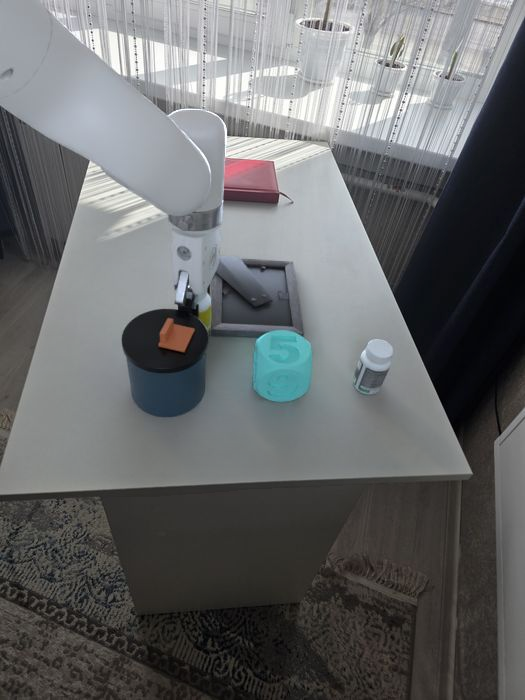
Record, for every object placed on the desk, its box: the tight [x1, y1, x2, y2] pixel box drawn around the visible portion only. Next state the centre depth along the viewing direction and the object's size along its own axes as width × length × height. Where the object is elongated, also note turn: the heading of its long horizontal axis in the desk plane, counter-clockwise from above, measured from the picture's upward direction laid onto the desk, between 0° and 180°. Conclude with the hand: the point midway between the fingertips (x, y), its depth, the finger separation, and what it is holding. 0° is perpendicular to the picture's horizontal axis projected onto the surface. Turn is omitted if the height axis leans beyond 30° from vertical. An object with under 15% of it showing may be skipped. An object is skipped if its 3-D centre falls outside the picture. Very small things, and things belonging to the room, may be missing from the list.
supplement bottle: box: [186, 284, 212, 336], centre depth 77 cm, size 5×5×10 cm
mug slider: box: [158, 318, 195, 352], centre depth 63 cm, size 4×4×2 cm
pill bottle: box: [351, 338, 395, 395], centre depth 73 cm, size 5×5×8 cm
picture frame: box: [210, 255, 305, 339], centre depth 87 cm, size 16×2×21 cm
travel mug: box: [121, 308, 210, 418], centre depth 67 cm, size 12×12×11 cm
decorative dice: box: [252, 330, 313, 403], centre depth 72 cm, size 8×8×8 cm
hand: (194, 309), depth 77 cm, fingers closed on supplement bottle, 5 cm apart
